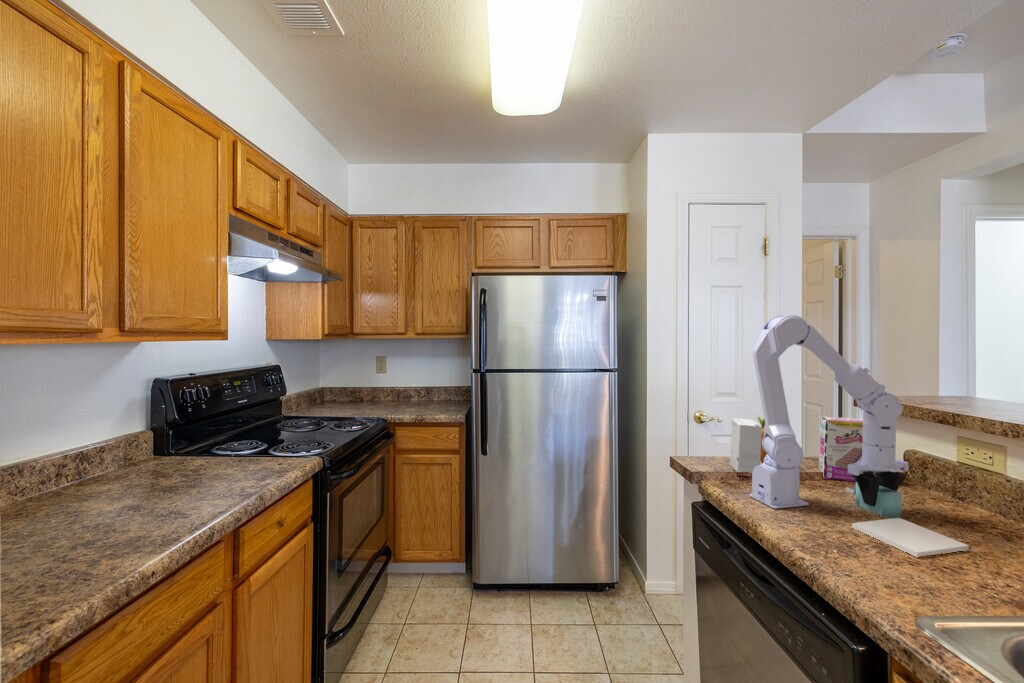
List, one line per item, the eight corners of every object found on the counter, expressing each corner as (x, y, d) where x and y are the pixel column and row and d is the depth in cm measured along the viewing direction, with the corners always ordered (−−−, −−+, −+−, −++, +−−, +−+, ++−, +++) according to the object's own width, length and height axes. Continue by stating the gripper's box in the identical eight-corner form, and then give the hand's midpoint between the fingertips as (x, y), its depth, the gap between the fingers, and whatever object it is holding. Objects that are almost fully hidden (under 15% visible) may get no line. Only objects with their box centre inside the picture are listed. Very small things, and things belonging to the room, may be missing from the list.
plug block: (891, 519, 93) (891, 496, 93) (842, 499, 104) (843, 478, 104) (906, 517, 94) (906, 494, 94) (856, 498, 105) (857, 477, 105)
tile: (917, 558, 78) (917, 552, 77) (852, 527, 89) (852, 523, 89) (968, 550, 80) (968, 545, 80) (898, 522, 92) (898, 517, 92)
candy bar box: (824, 479, 117) (825, 419, 117) (818, 473, 122) (819, 416, 122) (874, 484, 114) (875, 422, 113) (866, 478, 118) (867, 418, 118)
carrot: (751, 463, 131) (751, 414, 131) (766, 463, 132) (767, 414, 131) (762, 469, 126) (762, 418, 126) (778, 468, 127) (778, 417, 126)
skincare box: (729, 467, 128) (730, 417, 127) (751, 469, 127) (752, 418, 126) (737, 477, 120) (738, 423, 119) (762, 478, 118) (762, 424, 118)
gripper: (870, 450, 92) (869, 514, 92) (924, 446, 95) (923, 507, 95) (839, 442, 99) (838, 501, 99) (890, 438, 102) (889, 495, 102)
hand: (877, 503), depth 98 cm, fingers closed on plug block, 4 cm apart
